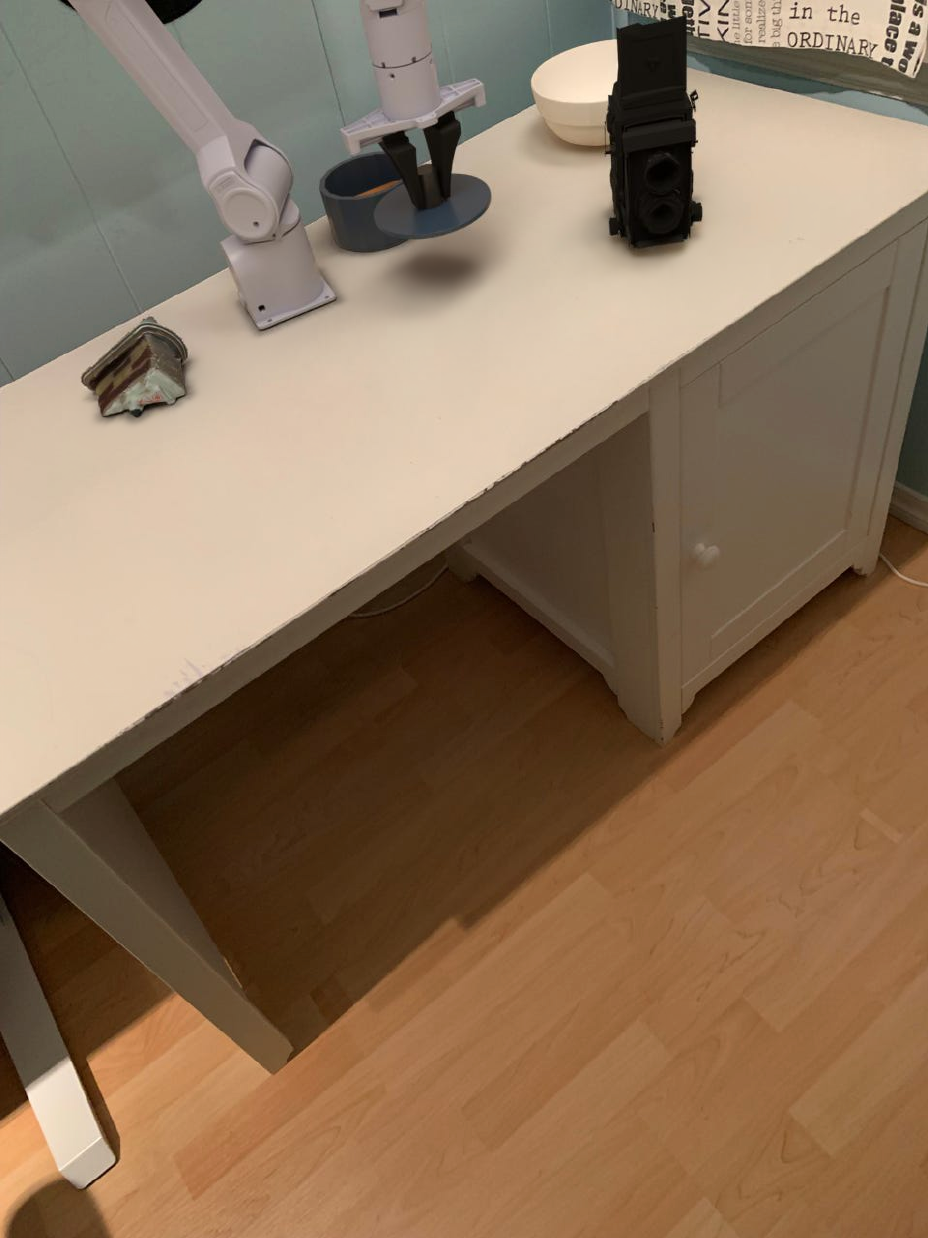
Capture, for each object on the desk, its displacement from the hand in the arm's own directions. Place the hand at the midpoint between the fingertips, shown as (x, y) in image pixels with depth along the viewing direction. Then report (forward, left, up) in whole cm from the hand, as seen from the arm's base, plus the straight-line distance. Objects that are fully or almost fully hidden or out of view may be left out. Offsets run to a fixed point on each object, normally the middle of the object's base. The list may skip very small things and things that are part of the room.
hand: (430, 199), depth 91 cm
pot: (-2, +16, -9) cm, 19 cm away
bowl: (+31, +17, -9) cm, 37 cm away
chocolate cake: (-36, +1, -9) cm, 37 cm away
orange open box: (-2, +16, -9) cm, 19 cm away
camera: (+22, -8, -9) cm, 25 cm away
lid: (0, 0, -1) cm, 1 cm away
